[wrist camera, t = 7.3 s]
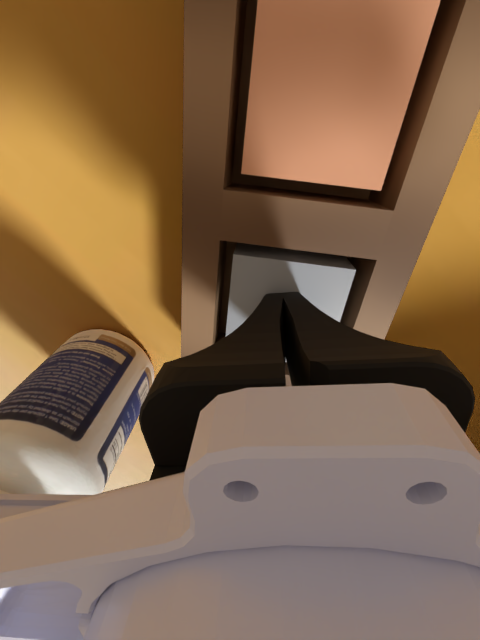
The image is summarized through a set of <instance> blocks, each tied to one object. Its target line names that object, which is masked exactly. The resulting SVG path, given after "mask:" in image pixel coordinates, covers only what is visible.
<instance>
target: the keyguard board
mask: <svg viewBox="0 0 480 640" xmlns="http://www.w3.org/2000/svg"><path fill="white" fill-rule="evenodd" d="M257 3H258V0H184V86H183V201H182V315H181V358H182V357H185V356H188V355H191V354H193V353H196V352H198V351H200V350H203V349H205V348H207V347H209V346H211V345H213V344H214V343H216V342H218V341H219V340H221V339H223V338H224V337H225V336H226V325H227V315H228V305H229V294H230V284H231V273H232V263H233V254H234V251H235V248H236V245H237V242H238V243H246V244H254V245H261V246H269V247H277V248H285V249H293V250H301V251H309V252H317V253H325V254H333V255H341V256H346V257H347V259H348V260H349V261H350V263H351V264H352V265H353V266H354V268H355V269H356V272H355V275H354V279H353V282H352V285H351V288H350V291H349V294H348V298H347V301H346V304H345V307H344V310H343V314H342V317H341V320H340V323H342V324H344V325H346V326H348V327H350V328H353V329H355V330H357V331H360V332H363V333H365V334H368V335H371V336H374V337H377V338H380V339H385V337H386V334H387V332H388V330H389V327H390V325H391V322H392V320H393V317H394V315H395V313H396V310H397V308H398V305H399V303H400V301H401V298H402V296H403V293H404V291H405V288H406V286H407V284H408V281H409V279H410V276H411V274H412V271H413V269H414V267H415V264H416V262H417V259H418V257H419V255H420V252H421V250H422V247H423V245H424V242H425V240H426V238H427V235H428V233H429V230H430V228H431V225H432V223H433V221H434V218H435V216H436V213H437V211H438V208H439V206H440V204H441V201H442V199H443V196H444V194H445V192H446V189H447V187H448V184H449V182H450V179H451V177H452V175H453V172H454V170H455V167H456V165H457V162H458V160H459V158H460V155H461V153H462V150H463V148H464V146H465V143H466V141H467V138H468V136H469V133H470V131H471V129H472V126H473V124H474V121H475V119H476V116H477V114H478V112H479V109H480V0H441V1H440V4H439V7H438V11H437V14H436V17H435V20H434V23H433V27H432V30H431V33H430V36H429V39H428V42H427V46H426V49H425V52H424V55H423V58H422V62H421V65H420V68H419V71H418V74H417V78H416V81H415V84H414V87H413V90H412V94H411V97H410V100H409V103H408V106H407V109H406V113H405V116H404V119H403V122H402V125H401V129H400V132H399V135H398V138H397V141H396V145H395V148H394V151H393V154H392V157H391V161H390V164H389V167H388V170H387V173H386V176H385V180H384V183H383V186H382V189H381V191H378V190H369V189H361V188H353V187H345V186H337V185H328V184H320V183H312V182H304V181H296V180H287V179H279V178H271V177H263V176H255V175H247V174H241V170H242V159H243V149H244V138H245V128H246V118H247V107H248V97H249V86H250V76H251V66H252V55H253V45H254V34H255V24H256V14H257ZM285 377H286V386H292V385H291V380H290V375H289V371H288V366H287V362H285Z"/></svg>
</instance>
